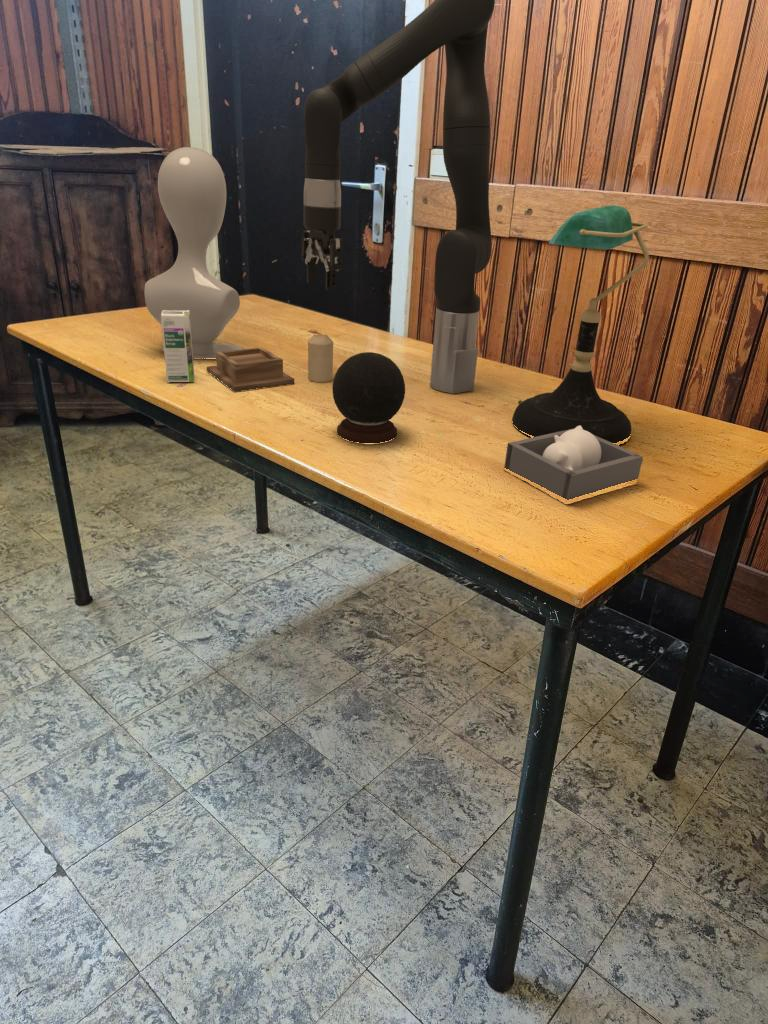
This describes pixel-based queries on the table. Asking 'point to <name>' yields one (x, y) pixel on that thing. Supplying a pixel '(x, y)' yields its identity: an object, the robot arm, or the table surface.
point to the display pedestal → (249, 369)
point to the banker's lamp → (584, 340)
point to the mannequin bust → (193, 249)
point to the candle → (320, 358)
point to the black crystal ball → (368, 397)
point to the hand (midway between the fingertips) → (321, 286)
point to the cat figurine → (574, 449)
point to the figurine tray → (563, 482)
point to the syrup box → (177, 346)
